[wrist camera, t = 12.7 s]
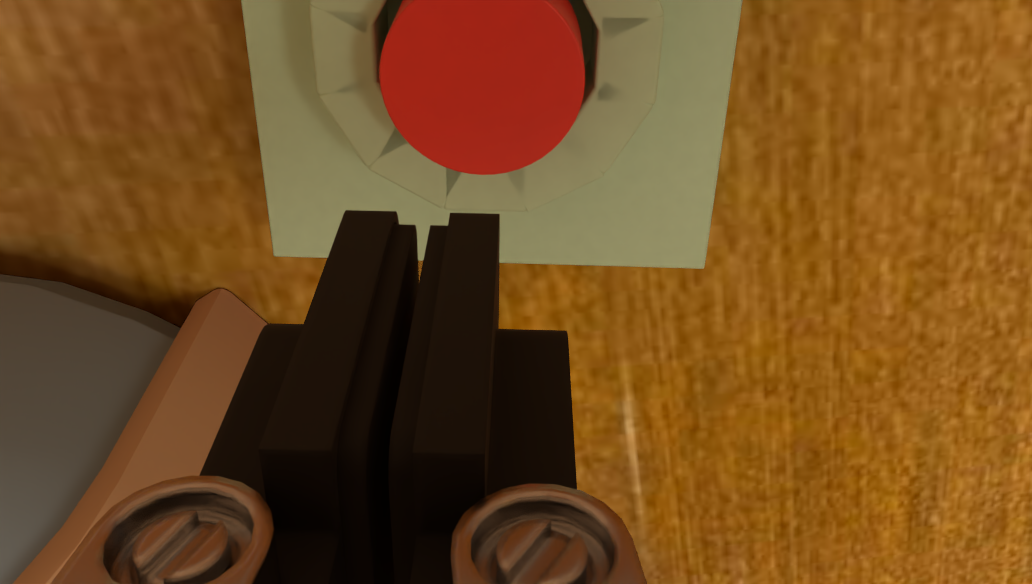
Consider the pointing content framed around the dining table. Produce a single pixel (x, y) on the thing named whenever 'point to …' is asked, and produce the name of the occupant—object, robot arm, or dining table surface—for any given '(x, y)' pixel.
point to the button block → (520, 193)
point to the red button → (483, 80)
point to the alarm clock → (102, 408)
